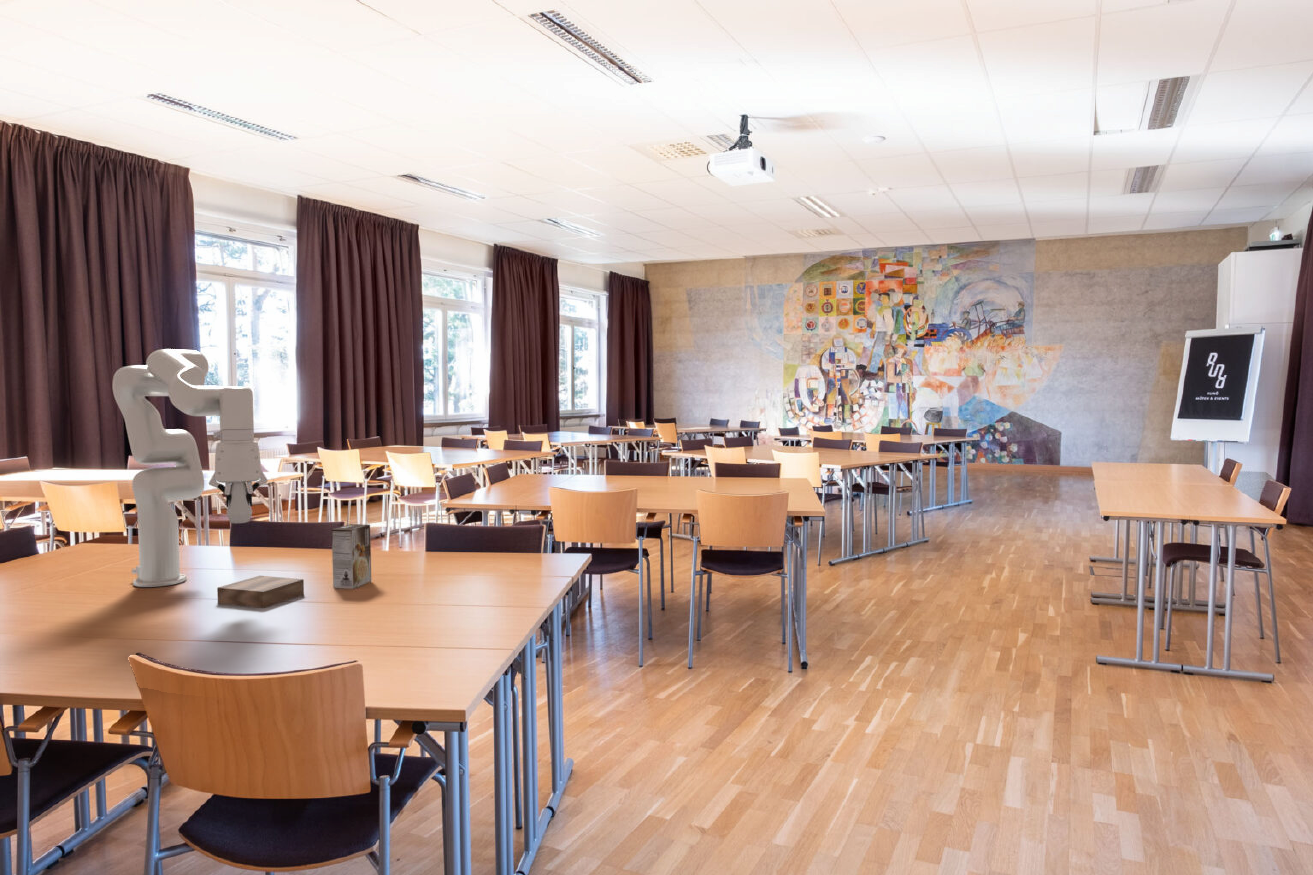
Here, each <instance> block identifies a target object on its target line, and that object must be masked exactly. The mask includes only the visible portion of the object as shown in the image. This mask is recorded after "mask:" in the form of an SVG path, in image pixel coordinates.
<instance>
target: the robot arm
mask: <svg viewBox="0 0 1313 875" xmlns="http://www.w3.org/2000/svg"><path fill="white" fill-rule="evenodd" d="M208 362H209V361H208V359H207V357H206V356H205V355H204V354H203V353H201V352H200V351H197V350H194V349H177V348H176V349H175V348H174V349H173V348H172V349H171V348H164V349H163V348H162V349H157V350H155V351H153V352H152V353H151V352H150V354H149V355H148V357H147V358H146V363H145V365H144V364H143V365H141V364H136V365H135V364H134V365H127V366H122V367H120V368H118V370H116V372H115V373H114V375H113V378H112V393H113V396H114V399H115V402H116V404H117V406H118V408H119V411H120V412H121V414H122V417H123V419H124V423H125V429H126V433H127V438H128V442H129V446H130V450H131V454H132V457H133V459H134V461H135V462H136V463H138V464H140V465H147V466H148V465H162V464H163V465H164V464H174V465H175V466H166V467H165V466H164V467H152V468H147V469H143V470H141V471H139V472H138V473H136V474H135V475H134V476H133V479H132V483H131V484H132V486H131V488H132V492H133V498H134V500H135V506H136V512H137V533H138V535H137V536H138V537H137V538H138V562H139V563H138V564H139V565H137V566H136V567H135V568H132V569H131V574H134V575H135V574H136V576H137V578H135V579H134V580H133V581H132V583H133V586H135V587H138V588H157V587H159V588H160V587H166V586H167V587H168V586H172V585H176V584H180V583H183V582H185V581H186V580H187V574H184V573H181V567H180V566H181V565H180V537H179V536H180V534H179V533H180V532H179V517H178V514H177V513H176V511H175V510H174V509H173V508H172V506H171V505H170V504H169V503H171V502H177V501H187V500H193V499H197V498H199V497H200V496H201V495H202V494H203V493H204V490H205V489H204V488H205V477H204V473H203V472H204V471H203V468H202V464H201V459H200V454H199V448H198V445H197V442H196V439H195V438H194V436H193V435H192V434H191V433H190V432H189V431H187V430H185V429H181V428H175V429H172V428H171V429H170V428H169V429H167V428H166V429H165V428H164V425H163V423H162V418H161V414H160V412H159V410H158V409H157V408H156V407H155V405H153V404H152V403H151V401H149V400H148V399H147V398H145V397H168V398H169V400H170V402H171V404H172V405H173V406H174V407H175V408H176V409H178V411H180V412H182V413H184V414H185V415H187V416H192V417H215V416H216V417H219V430H218V431H215V432H214V431H213V438H214V439H219V440H220V441H219V442H216V446H215V454H214V458H215V459H214V460H215V461H214V472H213V474H212V476H211V478H210V480H209V482H208V484H209V486H211V487H214V488H215V489H218V490H220V491H221V492H222V493H223V494H224V495H225V502H226V504H225V505H226V506H225V507H226V508H227V507H228V502H229V506H230V503H231V499H232V495H230V488H231V483H234V482H246V486H247V494H246V498H247V502H248V505H249V503H250V505H251V507H252V506H253V493H254V492H255V491H256V490H257V489H258V488H259V487H260V486H263V485H265V484H266V483H268V482H269V480H268V478H267V477H266V475H265V473H264V472H263V471H262V466H261V456H260V455H261V454H260V446H259V442H258V441H256V440H255V429H254V428H255V427H254V425H255V423H254V394H253V393H254V392H253V389H252V388H250V387H247V386H230V385H227V386H226V385H223V386H222V385H221V386H220V385H205V382H206V377H207V375H208V373H209V363H208ZM252 482H254V483H252Z"/></svg>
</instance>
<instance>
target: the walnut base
mask: <svg viewBox="0 0 1313 875" xmlns="http://www.w3.org/2000/svg"><path fill="white" fill-rule="evenodd" d="M304 585H305V583H304V579H303V578H291V577H280V576H268V575H257V576H254V577H250V578H246V579H243V580H239V581H236V582H232V583H229V584H225V585H221V586H219V587H217V590H216V591H217V604H218V603H221V604H220V605H227V606H228V605H230V606H238V607H239V606H241V607H249V608H250V607H251V608H258V609H259V608H261V609H265V608H267V607H271V606H273V605H277V604H279V603H283V602H285V601H289V600H292V599H295V598H298V597H301V596H303V595H304V594H305V590H304V589H305V586H304Z"/></svg>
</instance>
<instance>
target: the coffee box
mask: <svg viewBox="0 0 1313 875" xmlns="http://www.w3.org/2000/svg"><path fill="white" fill-rule="evenodd" d="M371 544H372V543H371V524H363V523H361V524H355V523H350V524H346V525H343V526H339V527H336V528H335V527H334V528H332V529H331V554H332V555H331V556H332V558H331V559H332V560H331V561H332V587H333V588H334V589H349V590H355V589H357V588H359V587H361V586H363V585H366V584H369V583H370V582H372V580H373V578H372V553H371V552H372V550H371Z"/></svg>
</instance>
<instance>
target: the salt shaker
mask: <svg viewBox="0 0 1313 875" xmlns="http://www.w3.org/2000/svg"><path fill="white" fill-rule="evenodd" d="M246 494H247V484H246V482H234V483H231V488H230V495H232V499H231V503H230V506H229V502H228V507H226V516H227V519H228V521H229V522H230V524H245V523H249V522H250V520H251V518H252V515H253V509H252V506H251V505H250V503H249V505H248V502H247V498H246Z"/></svg>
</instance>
